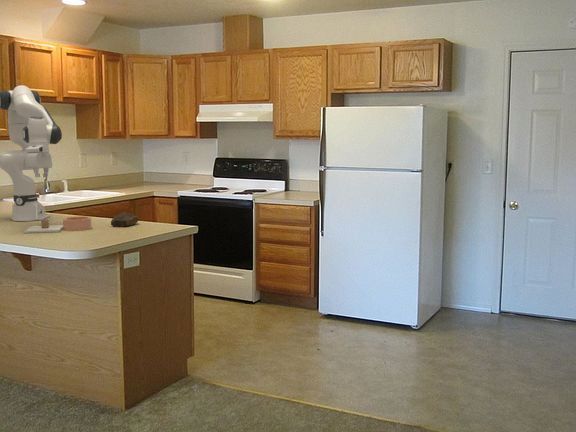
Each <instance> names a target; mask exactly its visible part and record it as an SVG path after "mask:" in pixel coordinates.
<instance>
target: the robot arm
mask: <svg viewBox="0 0 576 432" xmlns="http://www.w3.org/2000/svg"><path fill="white" fill-rule="evenodd" d="M41 100H42V99H41V96H40V93H39V92H38V91H35V90H31V89H30V88H29V86H26V85H24V84H23V85H17V86H15V87H14V88H13V90H1V91H0V109H1V110H3V111H8V112H7V121H8V122H7V125H8V135H9V136H8V137H9V140H10V141H11V142H12V143H14V144H15V145H17V146H20V148H21V149H20V150H19V149H18V150H16V149H15V150H13V149H12V150H6V151H1V152H0V169H1V170H3V171H4V172H6V173H7V175H8V176H9V177H10V179H11V181H12V186H13V195H12V198H13V202H14V203H13V204H12V209H11V213H12V215H11V217H10V220H11V221H14V222H31V221H41V220H46V219H48V218H49V217H50V216H51V215H50V214H47V213H46V208H45V206H44V205H43V204H42V203H40V201H38V200H39V199H38V198H40V194H39V193H38V194H36V184H35V183H36V182H35V180H34V179H33V177H30V176H27V175H25V174H24V173H23V171H27V170H33V173H34V176H35V178H40V177H41V176H40V175H41V174H40V173H39V170H40V169H43V170H42V171H43V173H42V176H43V178H48V177H49V171H50V170H49V169H51V168H53V161H52V155H51V153H50V147H49V146H50V145H57V144H59V142H61V140H62V137H63V135H62V134H63V133H62V130H61V127H60V126H59V125H58V124H57V123H56V122H55V120H54V118H53V117H52V115H51V114H50V112H49V111H48V109H47V108H46V107H45V106H43V105H41V103H42V101H41Z"/></svg>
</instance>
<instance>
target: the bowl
mask: <svg viewBox="0 0 576 432" xmlns="http://www.w3.org/2000/svg"><path fill="white" fill-rule="evenodd" d="M92 221H93V220H92V217H91V216H86V215H85V216H83V215H82V216H78V215H77V216H68V217H64V218H62V222H63V223H62V225H63V228H64V229H63V231H66V232H67V231H68V232H81V231H82V232H83V231H90V230H91V229H93V224H92Z"/></svg>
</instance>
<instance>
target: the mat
mask: <svg viewBox="0 0 576 432" xmlns="http://www.w3.org/2000/svg"><path fill="white" fill-rule="evenodd" d="M63 231H64V228H63V229H62V230H61V231H60V232H41V233H40V234H47V233H49V234H51V233H61V232H63ZM22 234H23V235H24V234H26V235H27V234H30V233H25V232H24V233H22Z"/></svg>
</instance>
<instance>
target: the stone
mask: <svg viewBox="0 0 576 432" xmlns="http://www.w3.org/2000/svg"><path fill="white" fill-rule="evenodd" d="M138 222H139V217H138V216H136V215H135V214H133V213H129V212H124V211H123V212H121V213H118V214H117V215H114V216H113V218H112V219H111V222H110V225H111V226H112V227H115V228H123V227H127V226H128V227H129V226H132V225H134V224H137V223H138Z"/></svg>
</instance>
